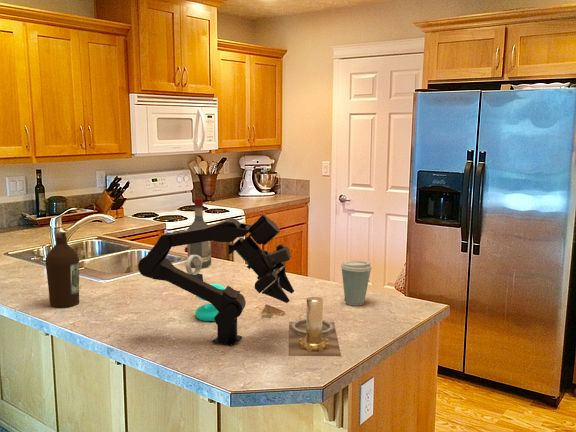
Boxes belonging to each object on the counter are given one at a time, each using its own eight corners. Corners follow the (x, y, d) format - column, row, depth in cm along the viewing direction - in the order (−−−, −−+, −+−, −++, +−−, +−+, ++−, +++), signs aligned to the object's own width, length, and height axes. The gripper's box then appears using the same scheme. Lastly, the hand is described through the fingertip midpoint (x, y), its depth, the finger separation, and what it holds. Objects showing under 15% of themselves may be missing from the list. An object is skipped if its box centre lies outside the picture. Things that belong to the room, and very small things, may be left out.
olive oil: (42, 308, 184) (38, 235, 180) (55, 299, 195) (51, 230, 191) (75, 308, 184) (71, 235, 181) (85, 299, 195) (82, 230, 191)
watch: (205, 280, 220) (205, 253, 219) (193, 285, 213) (193, 257, 212) (194, 278, 223) (193, 252, 221) (181, 283, 216) (181, 256, 214)
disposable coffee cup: (333, 303, 193) (334, 261, 191) (352, 296, 201) (353, 256, 199) (358, 310, 186) (359, 267, 184) (376, 302, 194) (377, 261, 192)
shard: (265, 308, 188) (265, 303, 188) (287, 309, 187) (287, 304, 187) (260, 318, 178) (260, 313, 178) (283, 320, 177) (283, 314, 177)
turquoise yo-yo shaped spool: (230, 289, 174) (199, 293, 170) (230, 320, 175) (199, 324, 171) (221, 281, 183) (191, 284, 179) (221, 310, 184) (192, 314, 180)
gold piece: (324, 354, 147) (325, 305, 144) (294, 349, 149) (295, 301, 147) (332, 343, 154) (333, 296, 152) (304, 338, 157) (305, 293, 155)
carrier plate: (341, 359, 146) (341, 351, 145) (288, 359, 146) (288, 351, 145) (333, 325, 171) (334, 318, 171) (289, 324, 171) (289, 317, 171)
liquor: (186, 267, 240) (184, 199, 236) (193, 262, 249) (192, 197, 245) (206, 268, 239) (205, 200, 234) (212, 263, 248) (211, 198, 243)
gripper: (268, 243, 143) (308, 288, 143) (279, 231, 161) (315, 270, 161) (237, 270, 145) (277, 314, 145) (252, 255, 163) (287, 294, 163)
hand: (290, 297), depth 154 cm, fingers open, 9 cm apart
